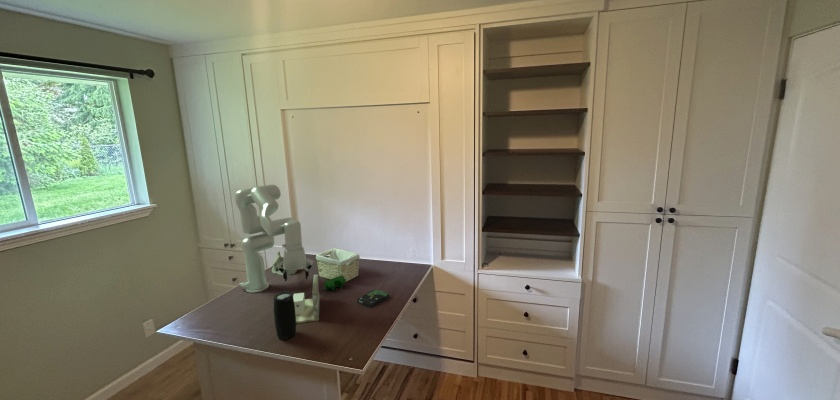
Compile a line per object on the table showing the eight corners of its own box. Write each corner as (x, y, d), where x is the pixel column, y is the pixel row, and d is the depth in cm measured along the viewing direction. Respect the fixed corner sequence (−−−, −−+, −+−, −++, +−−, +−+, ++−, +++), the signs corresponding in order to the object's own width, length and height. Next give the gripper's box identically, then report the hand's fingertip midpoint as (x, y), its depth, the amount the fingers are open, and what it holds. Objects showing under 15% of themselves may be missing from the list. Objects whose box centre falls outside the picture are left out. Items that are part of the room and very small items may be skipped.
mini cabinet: (293, 316, 164) (291, 303, 163) (295, 306, 174) (293, 293, 172) (303, 314, 165) (302, 301, 164) (305, 305, 175) (304, 292, 173)
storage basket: (316, 276, 213) (314, 254, 210) (335, 268, 227) (334, 247, 224) (342, 285, 200) (341, 261, 197) (361, 275, 214) (360, 253, 211)
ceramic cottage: (272, 267, 228) (271, 247, 224) (298, 265, 232) (297, 245, 228) (269, 278, 213) (267, 256, 209) (296, 276, 218) (295, 254, 214)
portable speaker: (288, 327, 156) (285, 288, 152) (301, 333, 151) (298, 293, 147) (271, 336, 149) (267, 296, 145) (285, 343, 144) (281, 301, 140)
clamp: (332, 298, 193) (327, 288, 188) (326, 292, 197) (321, 283, 191) (349, 285, 199) (345, 275, 193) (343, 280, 203) (339, 270, 197)
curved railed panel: (276, 326, 157) (273, 297, 154) (282, 304, 178) (279, 278, 175) (318, 320, 162) (316, 292, 159) (319, 299, 183) (317, 274, 180)
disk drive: (370, 309, 173) (390, 298, 184) (370, 304, 172) (390, 293, 184) (357, 303, 179) (376, 292, 191) (356, 298, 179) (376, 288, 190)
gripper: (273, 250, 158) (276, 284, 161) (312, 247, 162) (314, 280, 166) (275, 245, 165) (278, 277, 168) (312, 242, 169) (314, 273, 173)
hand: (296, 278), depth 167 cm, fingers open, 9 cm apart
